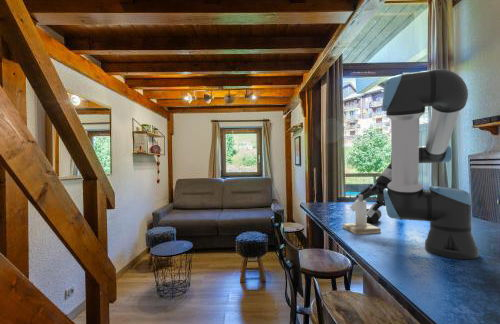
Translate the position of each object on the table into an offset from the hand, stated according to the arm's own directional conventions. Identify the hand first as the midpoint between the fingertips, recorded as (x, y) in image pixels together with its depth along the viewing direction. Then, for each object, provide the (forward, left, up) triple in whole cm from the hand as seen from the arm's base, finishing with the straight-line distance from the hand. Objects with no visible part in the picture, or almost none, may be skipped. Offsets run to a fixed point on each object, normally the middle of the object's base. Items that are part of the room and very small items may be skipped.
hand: (359, 212), depth 119 cm
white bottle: (0, -1, -7) cm, 7 cm away
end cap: (+13, -16, -9) cm, 22 cm away
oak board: (0, -1, -9) cm, 9 cm away
